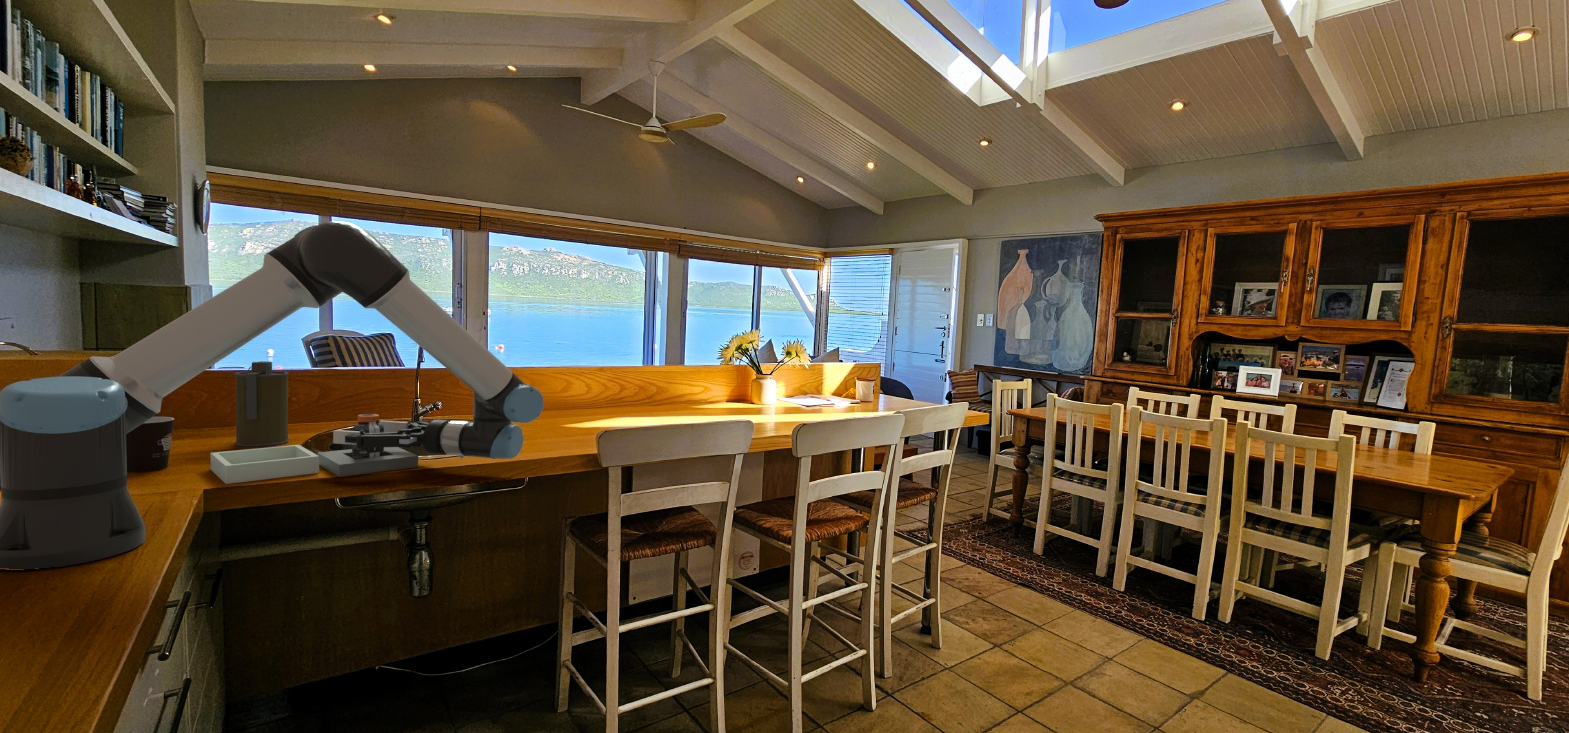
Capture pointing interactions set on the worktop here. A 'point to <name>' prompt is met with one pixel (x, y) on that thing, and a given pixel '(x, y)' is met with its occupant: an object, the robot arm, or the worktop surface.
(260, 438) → the canister
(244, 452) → the parts tray
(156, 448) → the coffee mug
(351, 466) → the socket block
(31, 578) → the worktop surface
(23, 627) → the worktop surface
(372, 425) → the pill bottle
